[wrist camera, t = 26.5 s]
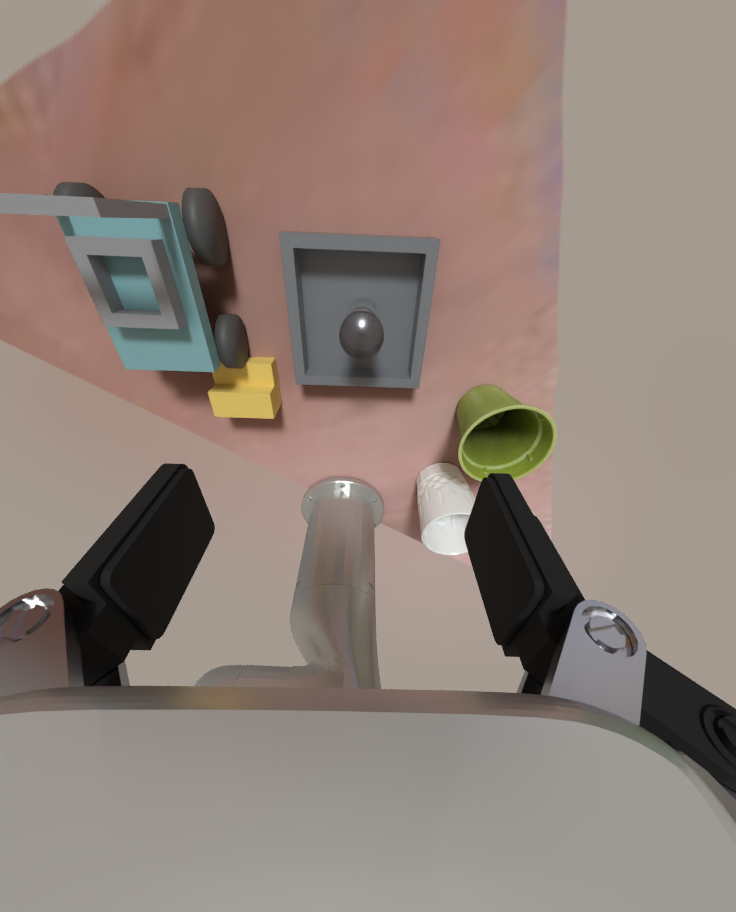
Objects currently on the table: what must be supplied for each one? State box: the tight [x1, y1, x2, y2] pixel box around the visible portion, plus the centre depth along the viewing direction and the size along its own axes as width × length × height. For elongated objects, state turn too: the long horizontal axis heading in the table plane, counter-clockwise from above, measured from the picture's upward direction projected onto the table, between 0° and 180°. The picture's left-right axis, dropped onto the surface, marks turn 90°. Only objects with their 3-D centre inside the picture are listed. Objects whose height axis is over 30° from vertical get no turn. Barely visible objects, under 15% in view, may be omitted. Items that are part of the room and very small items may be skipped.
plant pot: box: [456, 385, 557, 482], centre depth 34 cm, size 9×9×9 cm
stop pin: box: [339, 298, 384, 359], centre depth 28 cm, size 4×4×8 cm
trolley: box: [0, 182, 248, 372], centre depth 24 cm, size 14×10×14 cm
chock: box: [208, 357, 282, 419], centre depth 34 cm, size 6×6×4 cm
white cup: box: [416, 463, 475, 555], centre depth 41 cm, size 8×8×10 cm
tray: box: [279, 231, 440, 388], centre depth 30 cm, size 13×13×3 cm
